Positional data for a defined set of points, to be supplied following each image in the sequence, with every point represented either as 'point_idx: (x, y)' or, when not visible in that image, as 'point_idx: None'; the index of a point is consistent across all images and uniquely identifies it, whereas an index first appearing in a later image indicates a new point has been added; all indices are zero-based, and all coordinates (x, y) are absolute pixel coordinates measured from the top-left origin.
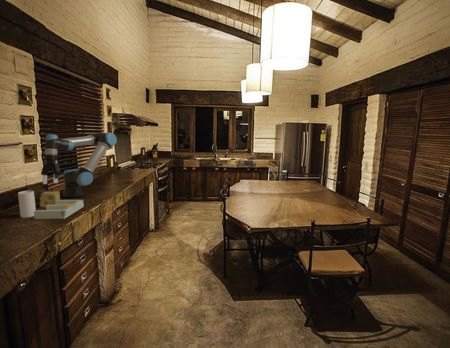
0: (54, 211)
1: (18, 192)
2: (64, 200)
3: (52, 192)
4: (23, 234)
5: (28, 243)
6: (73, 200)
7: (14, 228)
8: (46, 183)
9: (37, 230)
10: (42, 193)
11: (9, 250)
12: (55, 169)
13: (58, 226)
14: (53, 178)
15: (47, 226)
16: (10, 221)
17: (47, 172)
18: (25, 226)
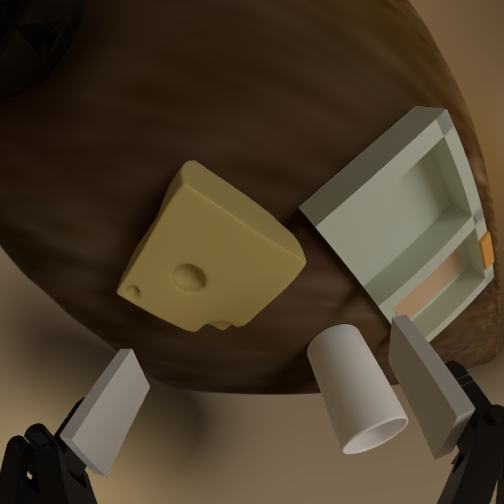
0: (470, 300)
1: (352, 453)
2: (370, 198)
3: (206, 256)
4: (459, 352)
5: (489, 342)
6: (419, 158)
7: None
8: (131, 356)
9: (469, 330)
10: (192, 327)
11: (481, 361)
12: (500, 495)
13: (492, 291)
14: (410, 402)
15: (473, 311)
16: None
17: (67, 490)
18: None
